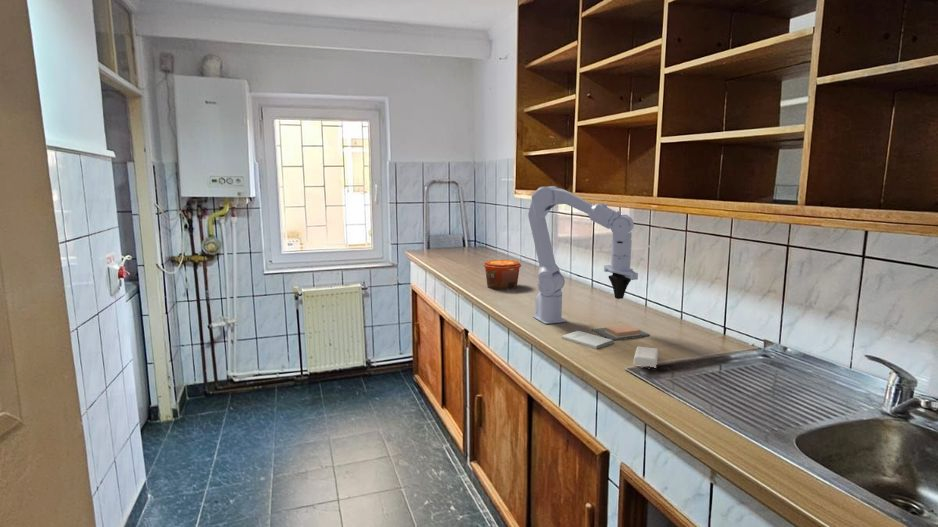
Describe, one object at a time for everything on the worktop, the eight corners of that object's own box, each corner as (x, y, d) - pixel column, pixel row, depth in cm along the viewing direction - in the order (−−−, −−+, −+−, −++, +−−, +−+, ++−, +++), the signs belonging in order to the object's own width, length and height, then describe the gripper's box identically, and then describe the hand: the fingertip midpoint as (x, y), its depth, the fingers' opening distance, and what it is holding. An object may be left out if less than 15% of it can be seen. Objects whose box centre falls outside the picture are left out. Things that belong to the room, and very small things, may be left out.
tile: (605, 327, 158) (617, 332, 152) (627, 324, 160) (640, 330, 155) (605, 332, 158) (617, 337, 152) (627, 329, 161) (639, 334, 155)
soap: (656, 370, 129) (656, 359, 129) (633, 367, 131) (633, 356, 131) (658, 358, 137) (658, 347, 137) (636, 355, 139) (637, 345, 139)
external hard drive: (596, 351, 144) (561, 340, 153) (613, 345, 149) (578, 334, 159) (596, 345, 144) (561, 335, 153) (613, 339, 149) (578, 329, 158)
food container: (502, 281, 234) (503, 257, 232) (528, 287, 222) (528, 262, 220) (476, 286, 224) (475, 261, 222) (501, 292, 212) (501, 267, 210)
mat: (591, 330, 161) (591, 329, 161) (628, 326, 165) (628, 324, 165) (611, 340, 151) (611, 339, 151) (649, 335, 155) (649, 334, 155)
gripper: (647, 257, 153) (644, 302, 155) (618, 250, 166) (616, 292, 168) (627, 259, 150) (625, 304, 153) (599, 252, 164) (597, 293, 166)
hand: (619, 298), depth 160 cm, fingers closed
